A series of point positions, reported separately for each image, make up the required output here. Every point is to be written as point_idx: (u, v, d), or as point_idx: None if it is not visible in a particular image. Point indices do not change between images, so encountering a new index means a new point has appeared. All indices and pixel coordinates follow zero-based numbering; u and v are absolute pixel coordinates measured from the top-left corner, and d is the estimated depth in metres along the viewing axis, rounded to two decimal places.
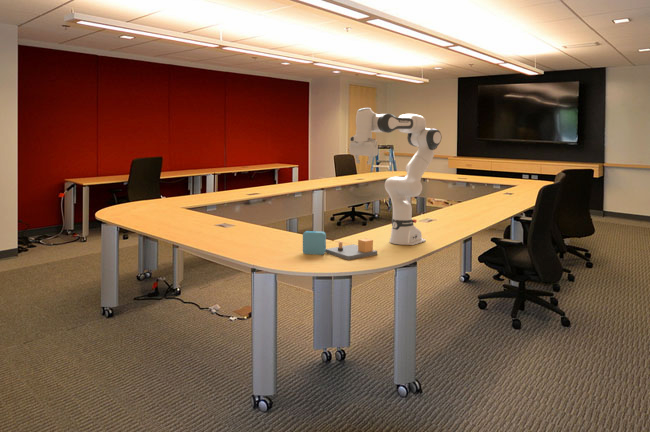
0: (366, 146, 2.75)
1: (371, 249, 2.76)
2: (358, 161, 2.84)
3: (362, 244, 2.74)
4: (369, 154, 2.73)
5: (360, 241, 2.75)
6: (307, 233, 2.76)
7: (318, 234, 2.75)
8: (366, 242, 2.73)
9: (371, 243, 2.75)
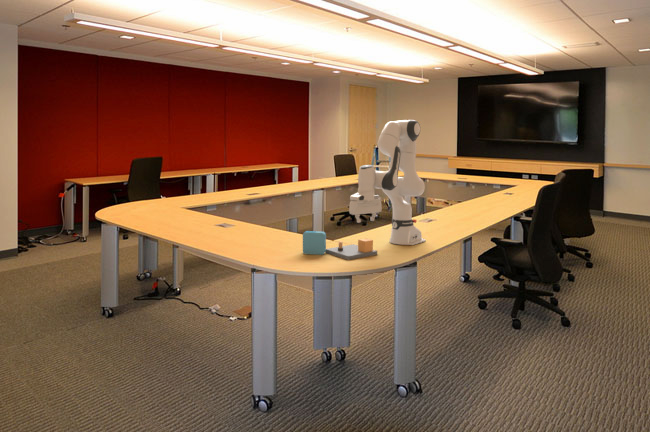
0: (373, 203, 2.74)
1: (371, 249, 2.76)
2: None
3: (362, 244, 2.74)
4: (377, 210, 2.76)
5: (360, 241, 2.75)
6: (307, 233, 2.76)
7: (318, 234, 2.75)
8: (366, 242, 2.73)
9: (371, 243, 2.75)
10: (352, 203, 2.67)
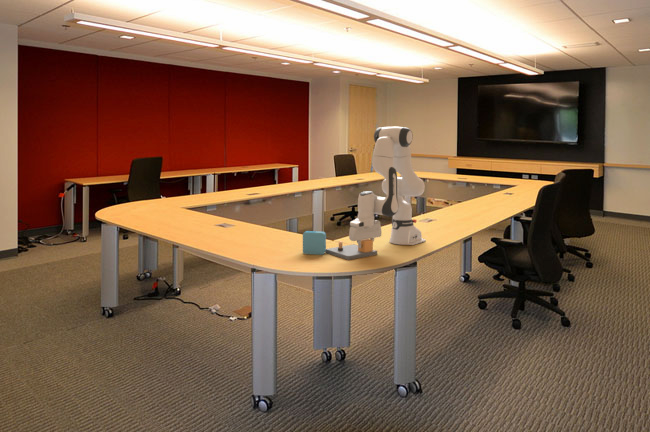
0: (373, 229, 2.76)
1: (371, 249, 2.76)
2: None
3: (362, 244, 2.74)
4: (377, 236, 2.78)
5: None
6: (307, 233, 2.76)
7: (318, 234, 2.75)
8: (366, 242, 2.73)
9: (371, 243, 2.75)
10: (352, 229, 2.69)
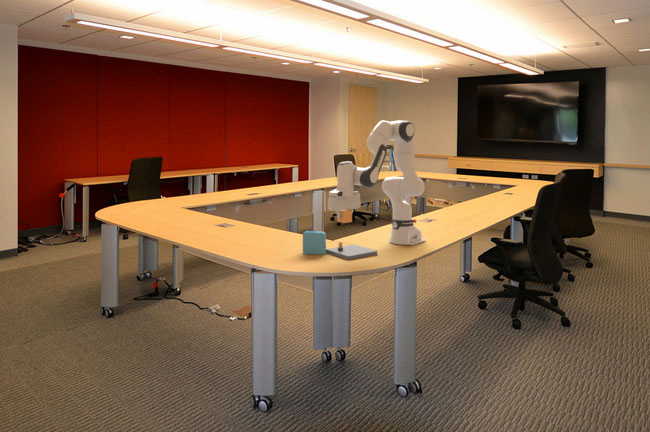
0: (352, 199, 2.74)
1: (350, 220, 2.74)
2: None
3: (341, 214, 2.72)
4: (356, 207, 2.77)
5: (339, 212, 2.73)
6: (307, 233, 2.76)
7: (318, 234, 2.75)
8: (345, 212, 2.71)
9: (350, 214, 2.73)
10: (331, 199, 2.67)
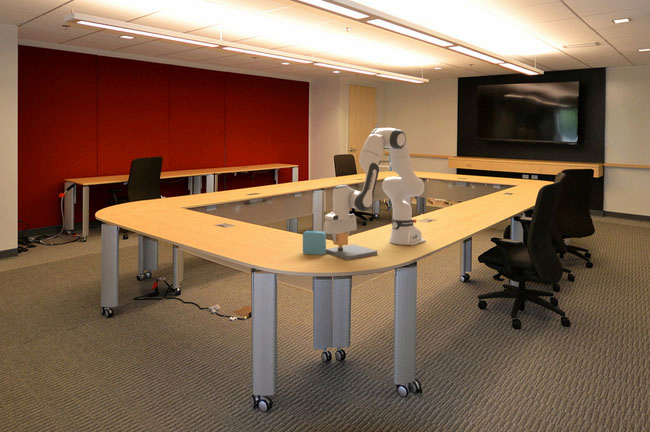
0: (348, 222, 2.77)
1: (346, 242, 2.76)
2: None
3: (337, 237, 2.75)
4: (352, 229, 2.79)
5: None
6: (307, 233, 2.76)
7: (318, 234, 2.75)
8: (341, 235, 2.73)
9: (346, 236, 2.76)
10: (326, 223, 2.70)
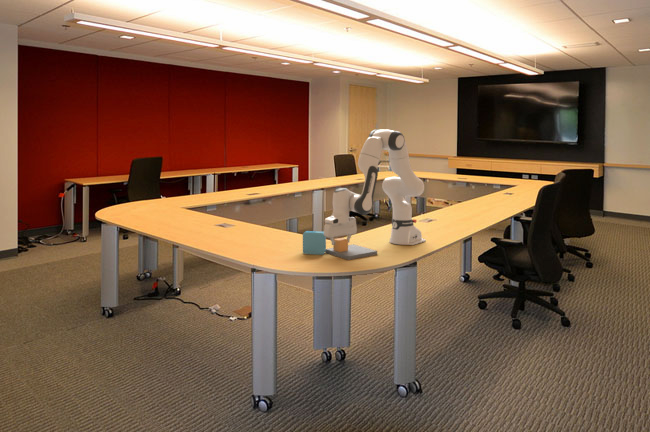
0: (348, 225, 2.77)
1: (346, 248, 2.77)
2: None
3: (337, 243, 2.75)
4: (352, 232, 2.79)
5: (335, 240, 2.76)
6: (307, 233, 2.76)
7: (318, 234, 2.75)
8: (341, 241, 2.74)
9: (346, 242, 2.76)
10: (326, 226, 2.70)
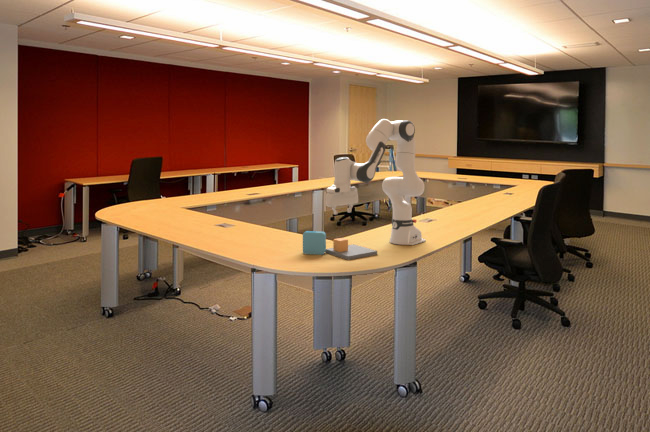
0: (350, 195, 2.76)
1: (346, 248, 2.77)
2: None
3: (337, 243, 2.75)
4: (354, 202, 2.79)
5: (335, 240, 2.76)
6: (307, 233, 2.76)
7: (318, 234, 2.75)
8: (341, 241, 2.74)
9: (346, 242, 2.76)
10: (328, 195, 2.69)
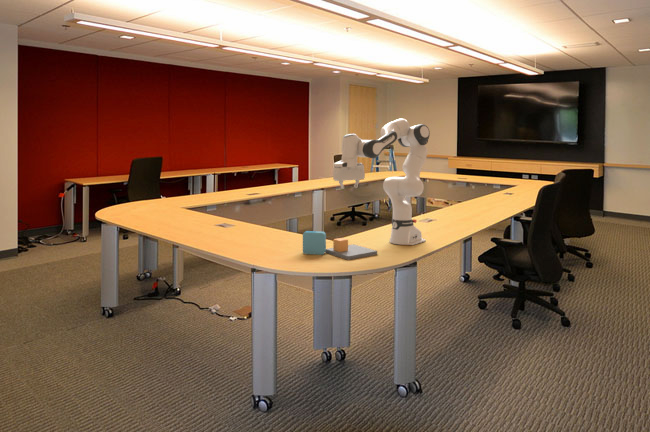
0: (356, 170, 2.87)
1: (346, 248, 2.77)
2: None
3: (337, 243, 2.75)
4: (360, 178, 2.89)
5: (335, 240, 2.76)
6: (307, 233, 2.76)
7: (318, 234, 2.75)
8: (341, 241, 2.74)
9: (346, 242, 2.76)
10: (336, 170, 2.80)
